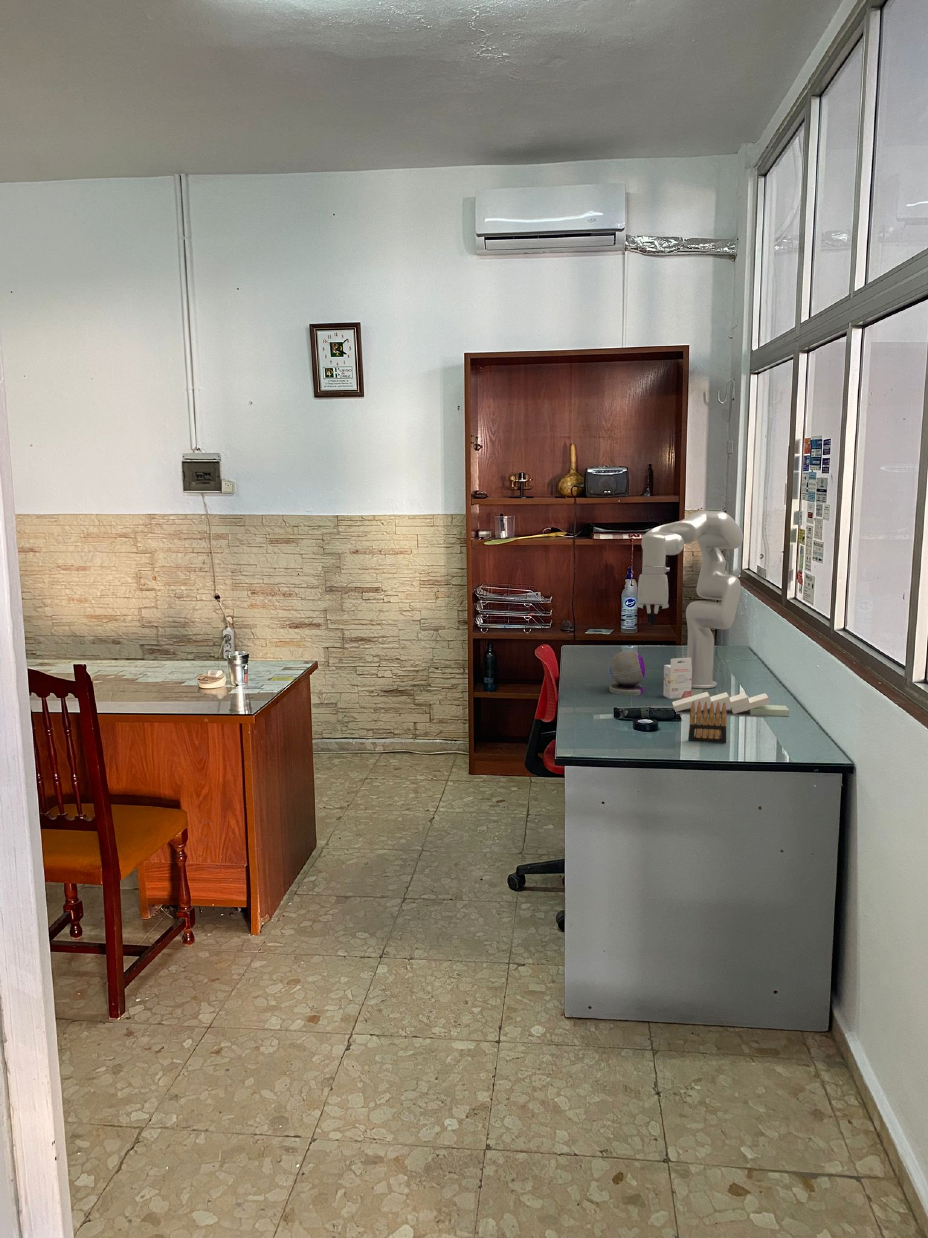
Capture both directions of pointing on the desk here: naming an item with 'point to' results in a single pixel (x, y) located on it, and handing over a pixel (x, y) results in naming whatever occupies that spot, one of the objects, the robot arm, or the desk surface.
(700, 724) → the ammunition clip
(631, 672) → the webcam
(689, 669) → the ink cartridge box
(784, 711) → the sage domino
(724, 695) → the cream domino
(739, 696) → the cream domino
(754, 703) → the cream domino
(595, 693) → the desk surface
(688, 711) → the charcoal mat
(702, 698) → the cream domino
